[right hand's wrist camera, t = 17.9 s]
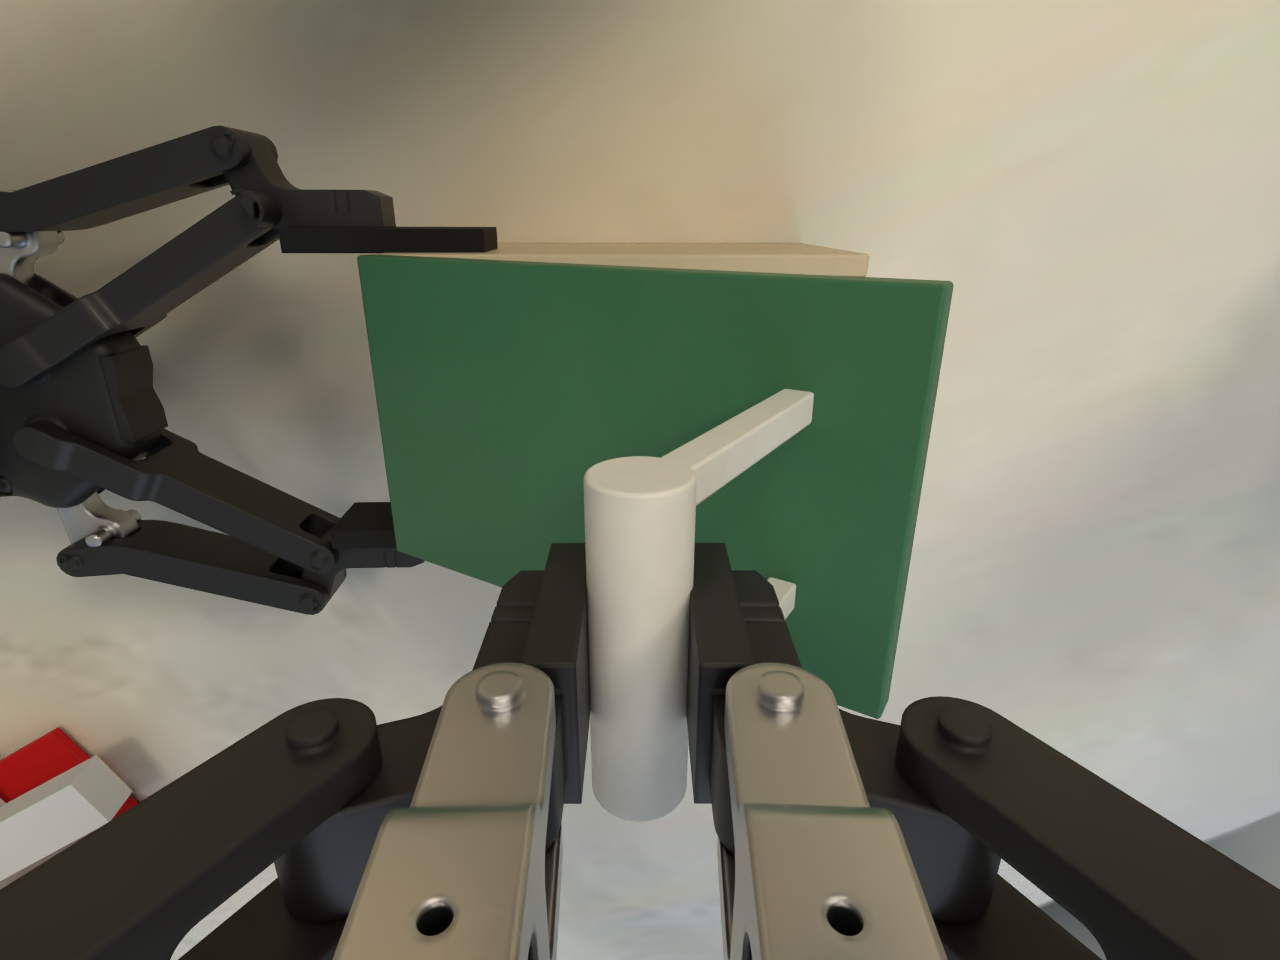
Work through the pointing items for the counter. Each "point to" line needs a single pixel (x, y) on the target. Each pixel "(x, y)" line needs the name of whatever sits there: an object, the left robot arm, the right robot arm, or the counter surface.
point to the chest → (683, 256)
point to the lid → (663, 460)
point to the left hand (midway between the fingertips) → (501, 391)
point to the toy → (53, 801)
